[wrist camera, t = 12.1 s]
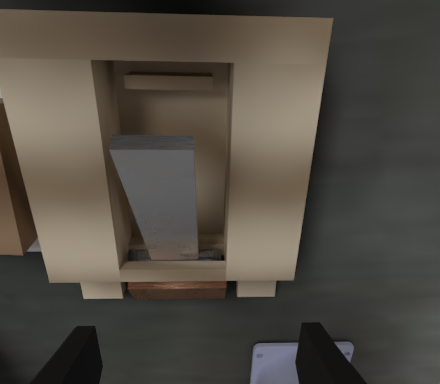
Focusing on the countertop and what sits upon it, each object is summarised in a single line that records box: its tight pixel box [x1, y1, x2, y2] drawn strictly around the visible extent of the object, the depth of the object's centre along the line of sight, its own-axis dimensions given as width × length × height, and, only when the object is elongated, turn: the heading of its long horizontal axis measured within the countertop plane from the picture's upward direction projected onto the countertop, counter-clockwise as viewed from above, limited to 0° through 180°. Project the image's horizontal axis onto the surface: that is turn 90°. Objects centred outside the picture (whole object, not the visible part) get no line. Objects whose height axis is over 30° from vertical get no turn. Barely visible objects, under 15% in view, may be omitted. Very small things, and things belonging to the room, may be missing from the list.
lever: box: [109, 135, 227, 299], centre depth 16 cm, size 15×6×2 cm
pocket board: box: [0, 9, 333, 299], centre depth 18 cm, size 17×13×4 cm
